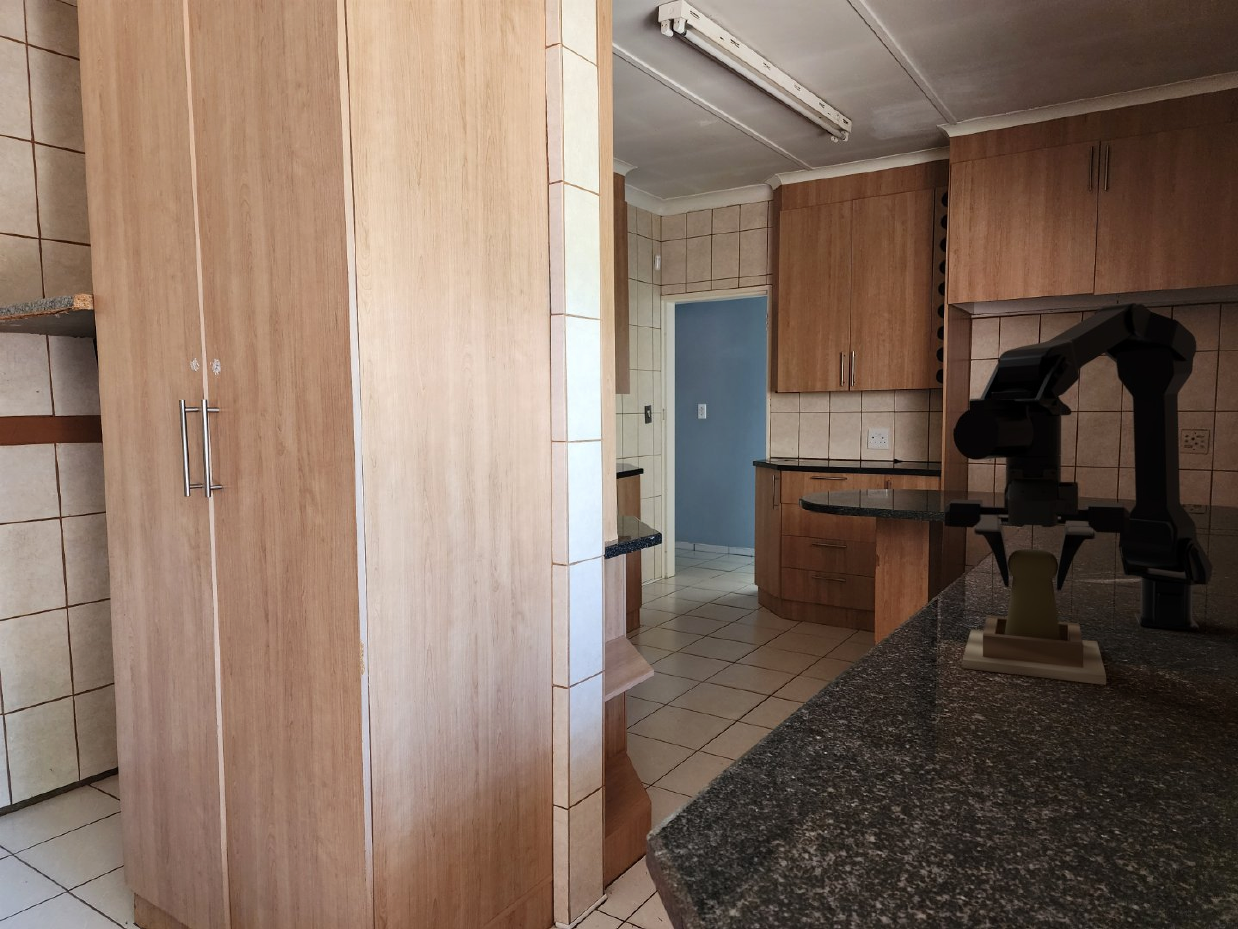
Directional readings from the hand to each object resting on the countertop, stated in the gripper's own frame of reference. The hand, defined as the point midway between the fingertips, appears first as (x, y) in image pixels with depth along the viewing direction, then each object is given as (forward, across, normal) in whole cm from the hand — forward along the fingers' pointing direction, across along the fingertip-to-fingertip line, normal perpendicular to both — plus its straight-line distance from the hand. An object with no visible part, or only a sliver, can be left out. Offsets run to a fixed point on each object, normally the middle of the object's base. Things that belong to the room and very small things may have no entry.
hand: (1032, 588), depth 92 cm
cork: (+7, 0, 0) cm, 7 cm away
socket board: (+8, 0, 0) cm, 8 cm away
